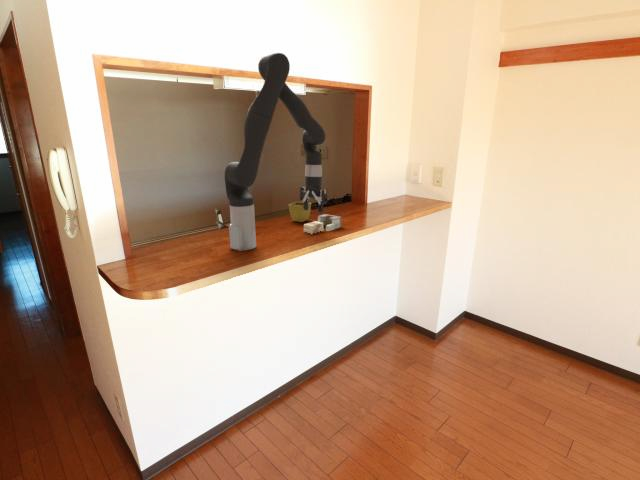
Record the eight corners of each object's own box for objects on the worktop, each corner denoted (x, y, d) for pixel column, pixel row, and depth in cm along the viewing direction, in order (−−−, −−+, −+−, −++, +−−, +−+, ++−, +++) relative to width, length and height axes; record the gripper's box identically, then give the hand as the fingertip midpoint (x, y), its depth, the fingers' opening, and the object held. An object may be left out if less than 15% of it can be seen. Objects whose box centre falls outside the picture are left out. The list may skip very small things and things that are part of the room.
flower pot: (288, 221, 187) (287, 204, 184) (297, 218, 194) (296, 201, 191) (303, 223, 183) (303, 205, 180) (311, 220, 190) (311, 202, 188)
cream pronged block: (311, 234, 164) (311, 226, 163) (303, 232, 167) (303, 224, 166) (323, 231, 170) (323, 222, 168) (315, 229, 173) (315, 221, 172)
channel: (328, 231, 168) (328, 220, 167) (311, 227, 175) (311, 217, 173) (341, 227, 176) (341, 216, 174) (325, 223, 182) (325, 213, 181)
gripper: (295, 174, 162) (295, 210, 167) (320, 176, 154) (320, 214, 158) (307, 173, 168) (306, 208, 172) (331, 175, 159) (330, 212, 164)
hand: (313, 211), depth 165 cm, fingers open, 8 cm apart
